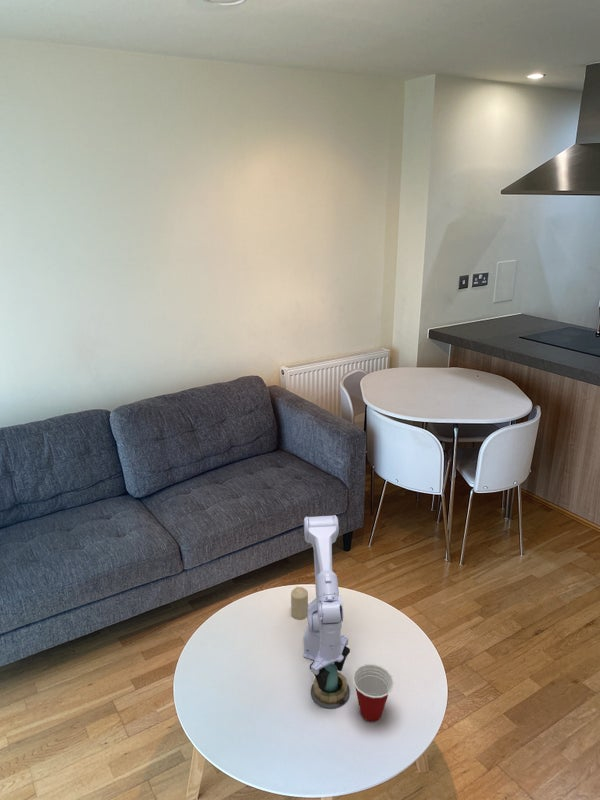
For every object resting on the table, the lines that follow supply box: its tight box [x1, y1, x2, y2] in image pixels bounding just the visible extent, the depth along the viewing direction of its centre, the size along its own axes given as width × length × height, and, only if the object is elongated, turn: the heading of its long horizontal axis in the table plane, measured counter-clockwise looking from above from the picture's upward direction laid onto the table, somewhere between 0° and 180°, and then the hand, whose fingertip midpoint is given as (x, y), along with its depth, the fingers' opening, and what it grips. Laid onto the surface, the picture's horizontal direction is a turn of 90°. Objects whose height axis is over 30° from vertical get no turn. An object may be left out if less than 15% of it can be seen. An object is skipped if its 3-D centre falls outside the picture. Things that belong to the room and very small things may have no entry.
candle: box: [290, 586, 309, 621], centre depth 195 cm, size 6×6×10 cm
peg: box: [322, 663, 339, 693], centre depth 164 cm, size 4×4×8 cm
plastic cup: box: [352, 663, 395, 723], centre depth 157 cm, size 11×11×12 cm
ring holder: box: [310, 671, 351, 710], centre depth 165 cm, size 11×11×3 cm
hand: (330, 677), depth 164 cm, fingers open, 7 cm apart
